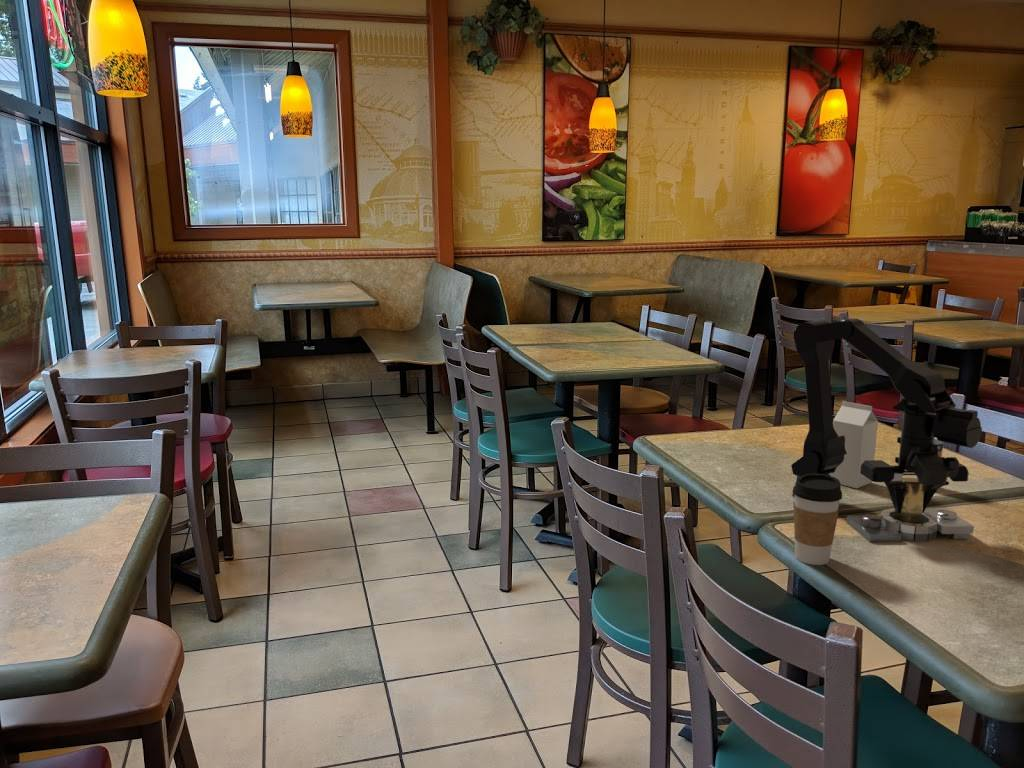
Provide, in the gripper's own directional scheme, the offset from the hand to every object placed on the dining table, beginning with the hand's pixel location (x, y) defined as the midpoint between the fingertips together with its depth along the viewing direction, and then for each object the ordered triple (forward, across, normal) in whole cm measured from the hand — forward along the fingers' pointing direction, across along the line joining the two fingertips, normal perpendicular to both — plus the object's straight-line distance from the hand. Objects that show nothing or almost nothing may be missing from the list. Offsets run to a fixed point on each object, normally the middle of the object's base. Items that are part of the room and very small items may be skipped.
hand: (909, 512), depth 157 cm
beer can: (+4, +18, +26) cm, 32 cm away
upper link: (+4, +3, 0) cm, 5 cm away
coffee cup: (+4, -24, -12) cm, 27 cm away
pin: (+2, 0, 0) cm, 2 cm away
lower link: (+4, -2, 0) cm, 5 cm away
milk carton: (+4, +2, +30) cm, 30 cm away
